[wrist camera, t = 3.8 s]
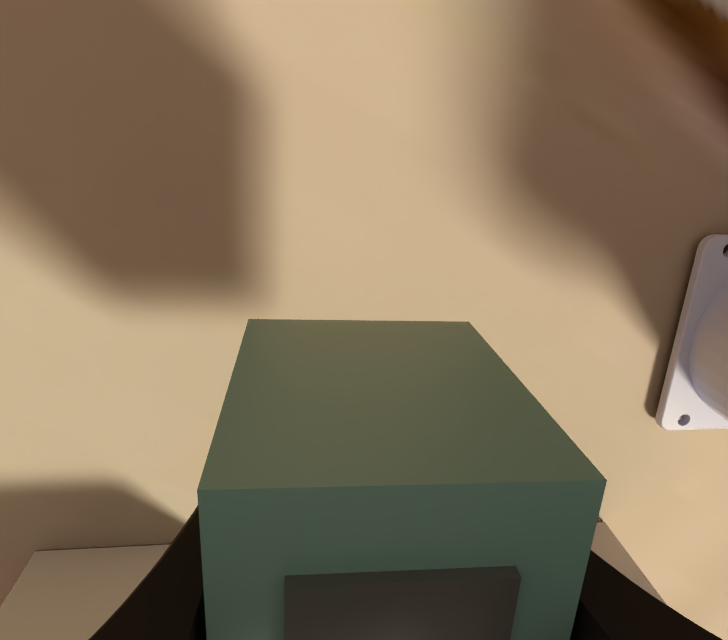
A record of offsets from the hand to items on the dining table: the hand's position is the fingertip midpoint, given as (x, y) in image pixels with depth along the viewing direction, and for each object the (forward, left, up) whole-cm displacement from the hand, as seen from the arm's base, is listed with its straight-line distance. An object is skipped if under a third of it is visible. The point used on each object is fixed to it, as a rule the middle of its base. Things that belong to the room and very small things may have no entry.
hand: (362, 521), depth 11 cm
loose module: (0, 0, -2) cm, 2 cm away
